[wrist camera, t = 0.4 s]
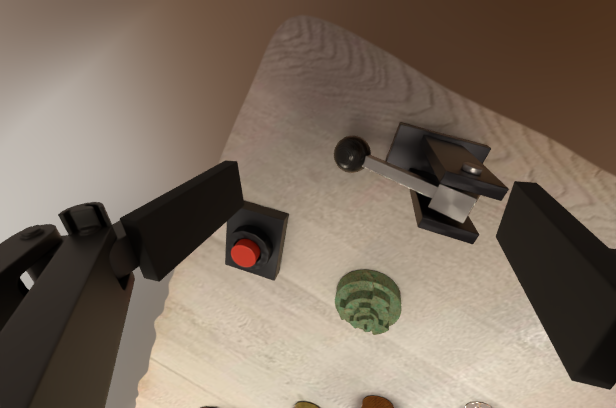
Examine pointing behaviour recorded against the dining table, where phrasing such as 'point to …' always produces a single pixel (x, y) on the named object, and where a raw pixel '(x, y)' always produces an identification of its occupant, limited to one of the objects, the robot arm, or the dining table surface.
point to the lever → (404, 178)
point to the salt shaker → (305, 405)
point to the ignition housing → (258, 237)
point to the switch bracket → (444, 174)
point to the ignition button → (245, 252)
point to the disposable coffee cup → (376, 402)
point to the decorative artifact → (368, 301)
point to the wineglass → (477, 405)
